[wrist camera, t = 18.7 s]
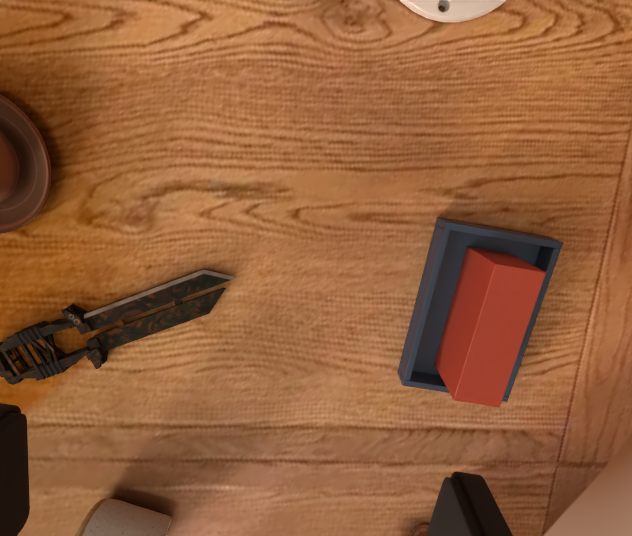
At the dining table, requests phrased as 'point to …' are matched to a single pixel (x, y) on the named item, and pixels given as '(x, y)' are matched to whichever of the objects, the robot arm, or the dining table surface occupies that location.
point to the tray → (441, 287)
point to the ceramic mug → (123, 520)
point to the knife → (106, 316)
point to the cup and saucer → (21, 168)
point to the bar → (486, 324)
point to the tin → (420, 530)
